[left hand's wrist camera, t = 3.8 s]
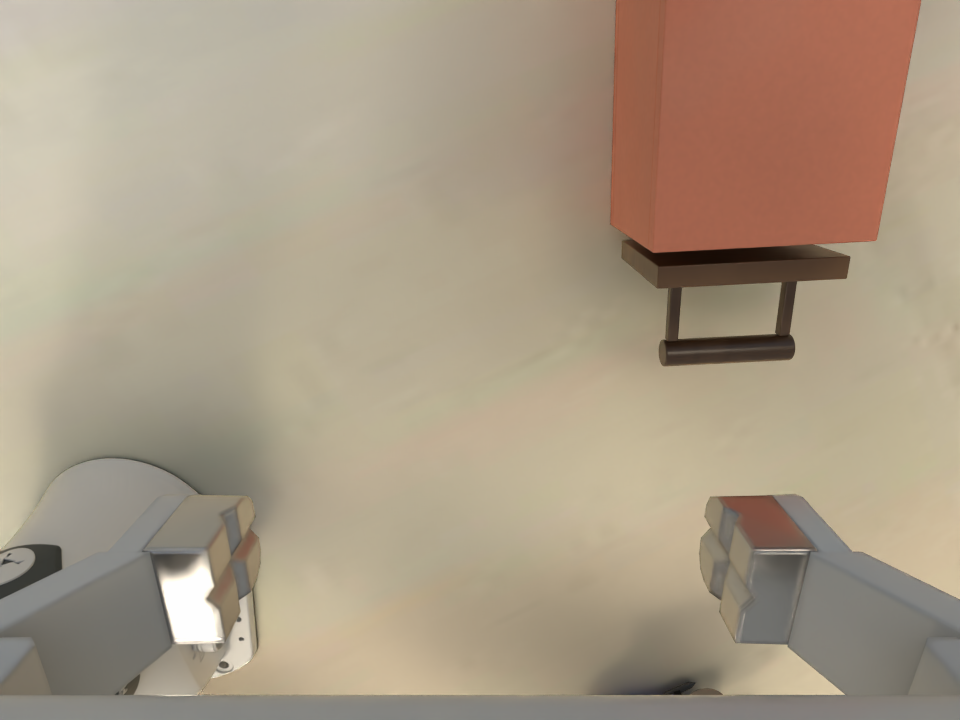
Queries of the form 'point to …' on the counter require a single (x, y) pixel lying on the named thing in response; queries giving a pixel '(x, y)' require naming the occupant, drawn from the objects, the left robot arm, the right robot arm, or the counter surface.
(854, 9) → the cabinet
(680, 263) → the drawer
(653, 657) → the counter surface
